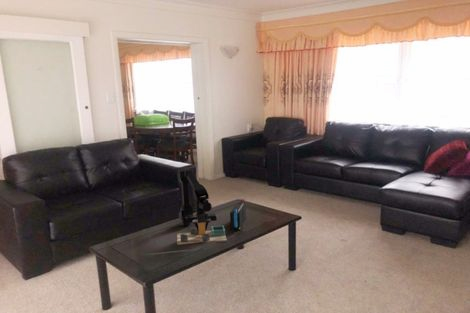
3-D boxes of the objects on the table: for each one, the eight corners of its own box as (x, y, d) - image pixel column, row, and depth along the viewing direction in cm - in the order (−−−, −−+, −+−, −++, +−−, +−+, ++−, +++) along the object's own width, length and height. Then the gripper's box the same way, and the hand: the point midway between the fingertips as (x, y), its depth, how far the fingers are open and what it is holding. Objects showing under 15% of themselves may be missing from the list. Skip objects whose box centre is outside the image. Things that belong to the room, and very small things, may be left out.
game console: (238, 232, 238) (237, 211, 235) (229, 232, 239) (228, 210, 236) (247, 217, 264) (246, 198, 262) (238, 217, 266) (238, 197, 263)
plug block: (198, 233, 231) (198, 219, 229) (205, 232, 231) (204, 219, 230) (199, 235, 227) (198, 222, 225) (205, 235, 227) (204, 221, 226)
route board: (177, 235, 237) (176, 227, 236) (223, 230, 241) (223, 223, 240) (177, 246, 220) (176, 238, 220) (226, 241, 225) (226, 233, 224)
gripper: (185, 212, 217) (187, 237, 220) (216, 210, 219) (218, 234, 222) (185, 207, 228) (186, 230, 231) (215, 204, 230) (216, 228, 233)
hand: (202, 231), depth 229 cm, fingers closed on plug block, 4 cm apart
